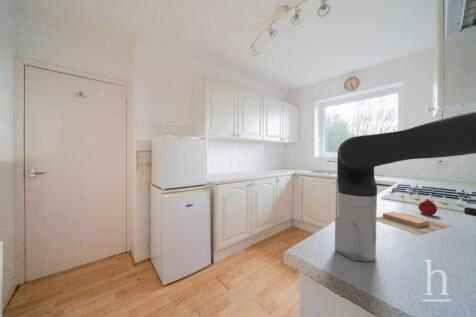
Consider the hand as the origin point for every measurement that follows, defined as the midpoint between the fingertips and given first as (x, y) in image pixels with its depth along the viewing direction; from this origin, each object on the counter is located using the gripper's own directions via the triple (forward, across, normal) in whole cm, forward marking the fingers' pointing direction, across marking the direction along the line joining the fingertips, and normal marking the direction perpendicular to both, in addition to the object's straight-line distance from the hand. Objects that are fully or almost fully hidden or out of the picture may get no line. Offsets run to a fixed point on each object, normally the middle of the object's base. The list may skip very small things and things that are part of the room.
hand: (465, 210), depth 57 cm
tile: (+10, -1, +8) cm, 13 cm away
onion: (+18, -21, +10) cm, 29 cm away
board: (+15, -1, +10) cm, 18 cm away
